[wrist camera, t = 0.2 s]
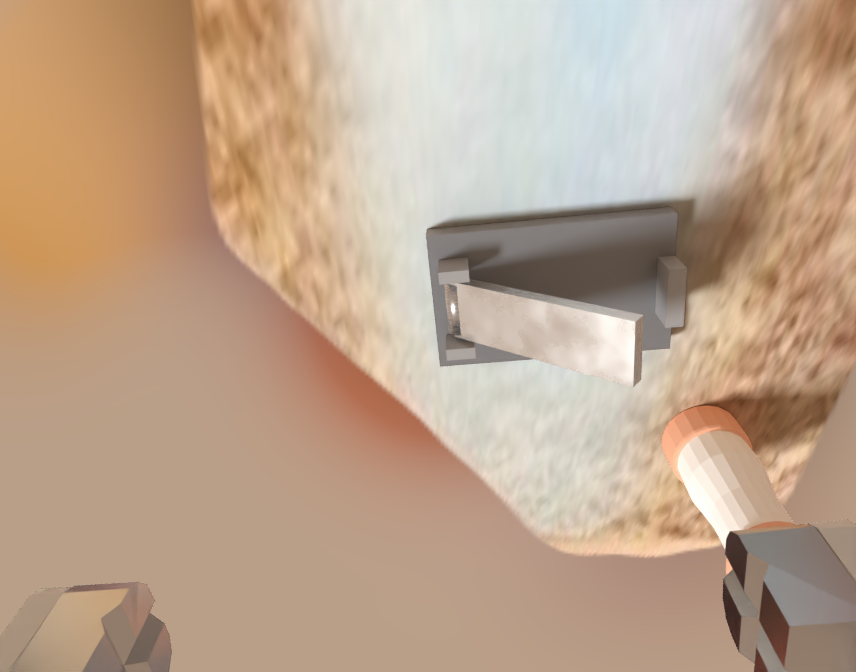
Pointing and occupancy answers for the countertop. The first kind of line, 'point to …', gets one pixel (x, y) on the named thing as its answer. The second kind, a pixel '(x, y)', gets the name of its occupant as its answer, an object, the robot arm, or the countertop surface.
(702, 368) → the countertop surface
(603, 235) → the clamp board
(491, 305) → the clamp lever
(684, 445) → the pepper shaker
